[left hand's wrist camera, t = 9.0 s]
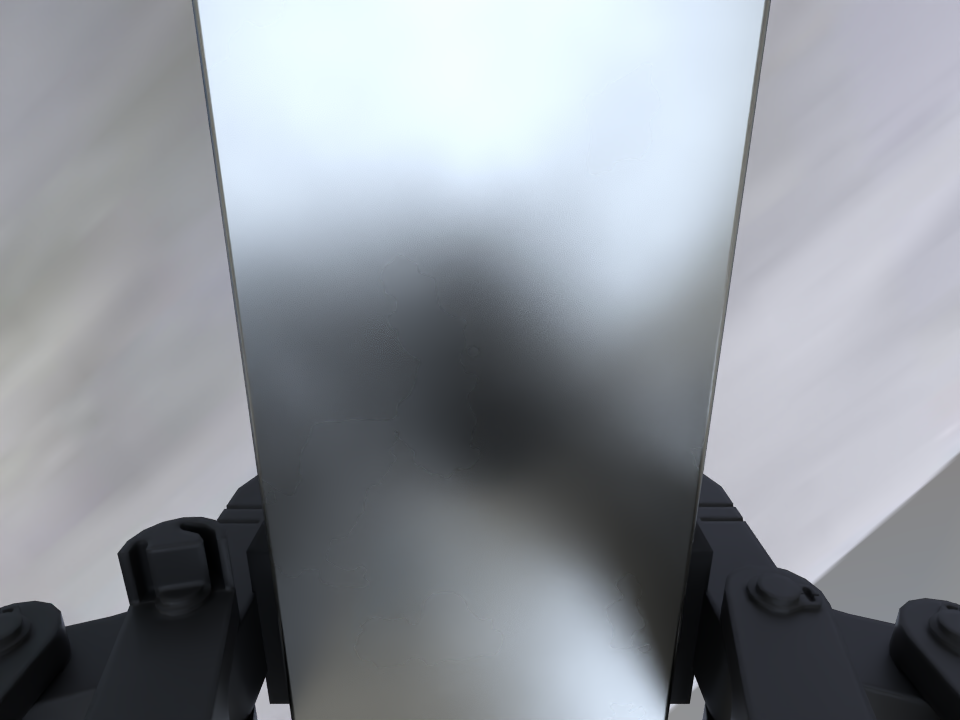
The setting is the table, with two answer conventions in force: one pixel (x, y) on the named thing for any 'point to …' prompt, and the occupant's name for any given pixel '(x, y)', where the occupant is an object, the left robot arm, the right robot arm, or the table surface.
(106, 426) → the table surface
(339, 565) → the bar
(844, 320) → the table surface
